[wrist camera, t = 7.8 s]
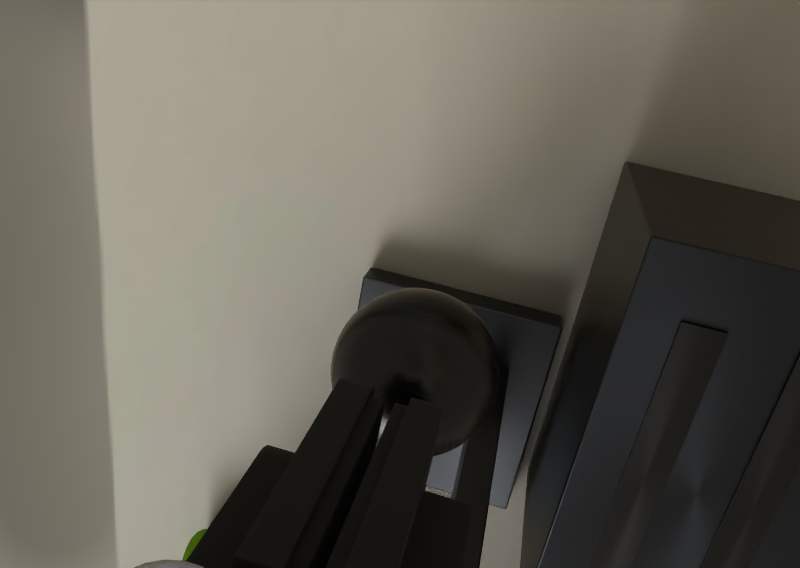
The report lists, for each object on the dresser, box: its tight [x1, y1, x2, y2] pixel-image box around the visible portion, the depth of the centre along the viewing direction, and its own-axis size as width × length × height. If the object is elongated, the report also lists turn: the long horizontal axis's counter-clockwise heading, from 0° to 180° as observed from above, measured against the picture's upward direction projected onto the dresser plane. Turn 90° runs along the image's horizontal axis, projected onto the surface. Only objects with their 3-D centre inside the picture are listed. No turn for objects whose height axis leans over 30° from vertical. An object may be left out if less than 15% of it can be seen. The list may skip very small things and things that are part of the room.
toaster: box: [520, 162, 800, 568], centre depth 25 cm, size 14×7×9 cm, turn 170°
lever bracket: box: [358, 267, 562, 568], centre depth 25 cm, size 9×8×13 cm
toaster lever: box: [331, 288, 500, 457], centre depth 17 cm, size 13×3×3 cm, turn 170°
